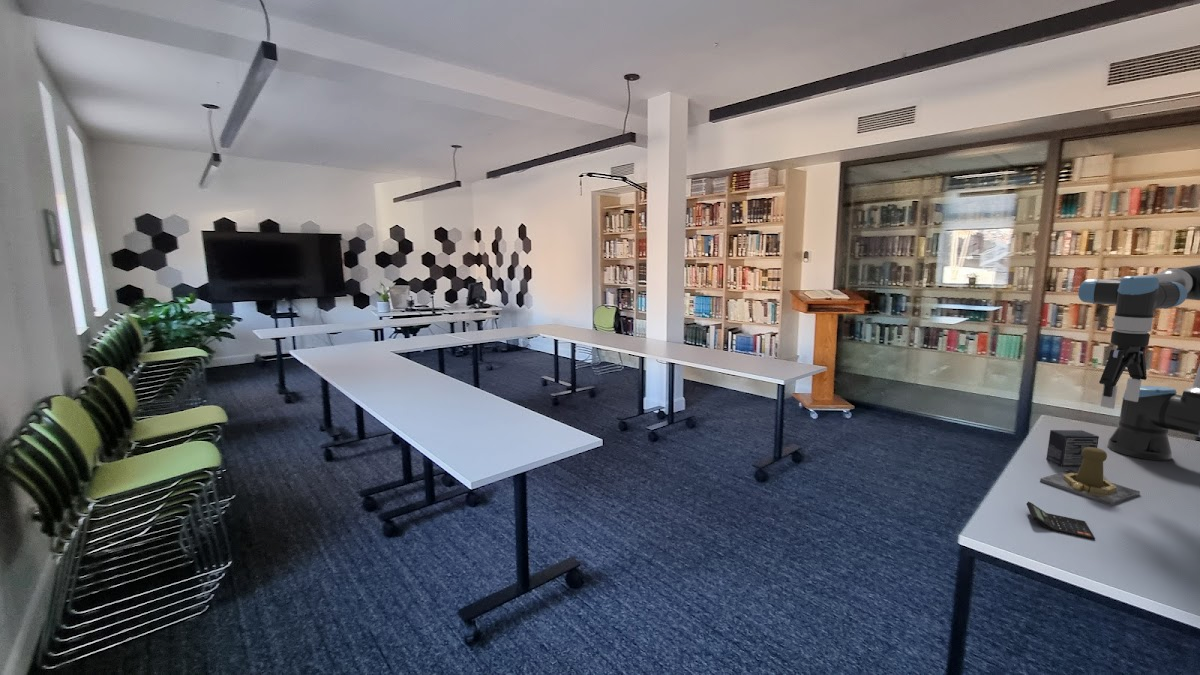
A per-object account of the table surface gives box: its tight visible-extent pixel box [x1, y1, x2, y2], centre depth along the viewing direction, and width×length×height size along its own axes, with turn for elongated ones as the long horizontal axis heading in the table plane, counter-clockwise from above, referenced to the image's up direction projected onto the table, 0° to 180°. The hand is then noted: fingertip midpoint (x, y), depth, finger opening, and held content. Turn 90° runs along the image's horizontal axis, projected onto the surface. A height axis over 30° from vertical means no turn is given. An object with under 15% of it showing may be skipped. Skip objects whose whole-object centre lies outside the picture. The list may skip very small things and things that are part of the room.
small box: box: [1045, 429, 1100, 468], centre depth 165 cm, size 11×6×10 cm, turn 88°
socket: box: [1040, 469, 1141, 507], centre depth 148 cm, size 16×16×2 cm
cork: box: [1075, 447, 1108, 487], centre depth 148 cm, size 6×6×11 cm
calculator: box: [1026, 501, 1096, 541], centre depth 128 cm, size 9×12×3 cm
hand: (1119, 404), depth 148 cm, fingers open, 13 cm apart
